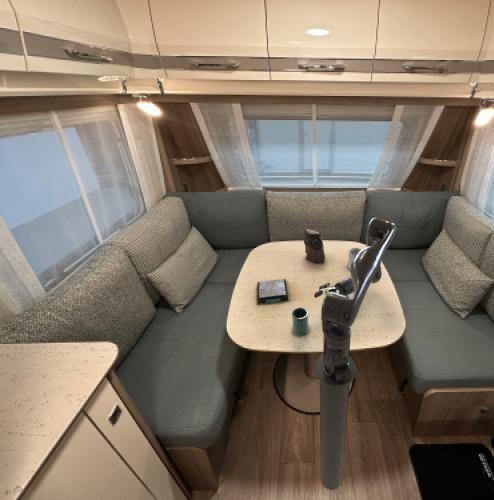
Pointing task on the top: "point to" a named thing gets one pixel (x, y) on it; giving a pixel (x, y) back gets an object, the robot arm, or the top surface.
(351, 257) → the mug
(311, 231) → the owl
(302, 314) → the cup
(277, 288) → the scale
